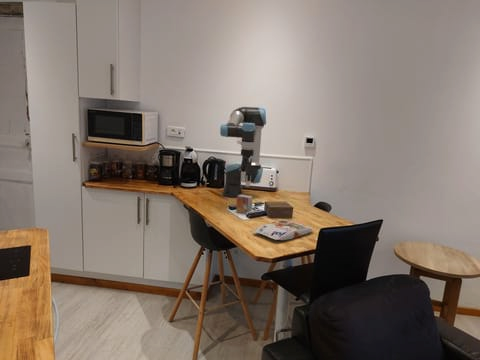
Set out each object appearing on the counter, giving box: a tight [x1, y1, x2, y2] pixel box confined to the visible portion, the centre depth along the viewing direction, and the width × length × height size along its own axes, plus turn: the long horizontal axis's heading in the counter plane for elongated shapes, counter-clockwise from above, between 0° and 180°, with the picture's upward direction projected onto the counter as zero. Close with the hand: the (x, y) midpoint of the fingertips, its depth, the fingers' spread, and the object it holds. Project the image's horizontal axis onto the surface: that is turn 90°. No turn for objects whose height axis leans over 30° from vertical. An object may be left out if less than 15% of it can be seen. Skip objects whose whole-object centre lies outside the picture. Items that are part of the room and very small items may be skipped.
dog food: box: [252, 219, 315, 241], centre depth 185 cm, size 30×18×5 cm, turn 133°
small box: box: [235, 194, 253, 215], centre depth 220 cm, size 8×6×10 cm
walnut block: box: [263, 201, 294, 219], centre depth 219 cm, size 14×14×7 cm
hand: (245, 184), depth 218 cm, fingers open, 13 cm apart
